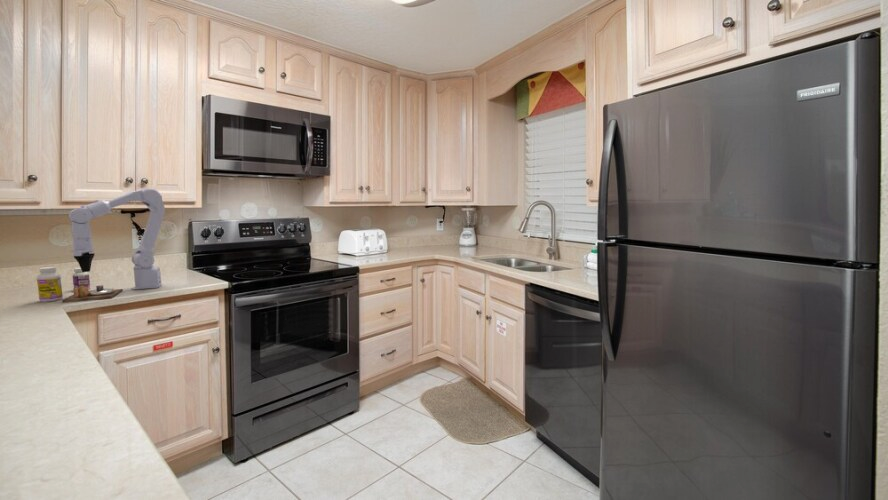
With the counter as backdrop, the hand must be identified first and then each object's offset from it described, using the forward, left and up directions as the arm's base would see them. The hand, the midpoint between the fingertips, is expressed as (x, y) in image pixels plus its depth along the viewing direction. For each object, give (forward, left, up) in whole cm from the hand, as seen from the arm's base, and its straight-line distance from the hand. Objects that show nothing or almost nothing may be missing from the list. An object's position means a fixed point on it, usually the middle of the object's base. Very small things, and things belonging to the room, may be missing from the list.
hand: (86, 271), depth 167 cm
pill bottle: (+6, -14, -10) cm, 19 cm away
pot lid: (-4, +5, -9) cm, 11 cm away
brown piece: (-3, +4, -10) cm, 11 cm away
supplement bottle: (+10, +5, -10) cm, 15 cm away
